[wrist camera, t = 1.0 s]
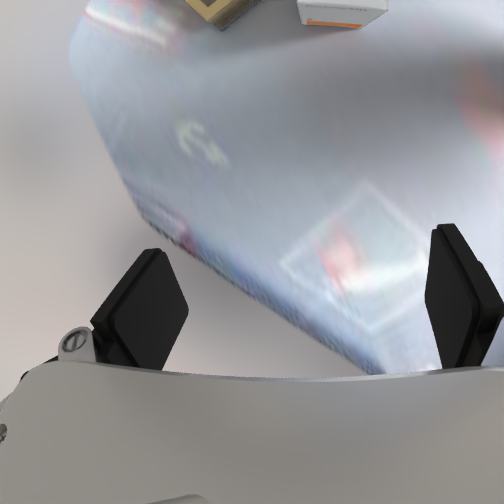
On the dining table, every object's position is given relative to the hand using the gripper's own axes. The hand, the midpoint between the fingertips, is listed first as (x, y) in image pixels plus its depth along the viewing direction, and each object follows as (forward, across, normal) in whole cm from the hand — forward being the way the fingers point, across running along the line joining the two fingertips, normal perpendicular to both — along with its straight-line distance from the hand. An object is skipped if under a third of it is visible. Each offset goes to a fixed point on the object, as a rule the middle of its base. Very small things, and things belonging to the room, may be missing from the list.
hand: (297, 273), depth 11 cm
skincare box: (+25, -4, -12) cm, 28 cm away
